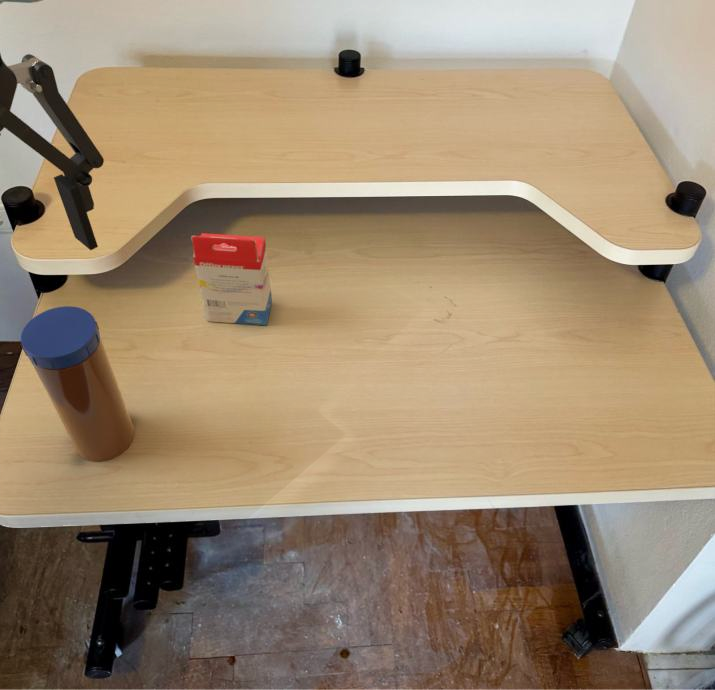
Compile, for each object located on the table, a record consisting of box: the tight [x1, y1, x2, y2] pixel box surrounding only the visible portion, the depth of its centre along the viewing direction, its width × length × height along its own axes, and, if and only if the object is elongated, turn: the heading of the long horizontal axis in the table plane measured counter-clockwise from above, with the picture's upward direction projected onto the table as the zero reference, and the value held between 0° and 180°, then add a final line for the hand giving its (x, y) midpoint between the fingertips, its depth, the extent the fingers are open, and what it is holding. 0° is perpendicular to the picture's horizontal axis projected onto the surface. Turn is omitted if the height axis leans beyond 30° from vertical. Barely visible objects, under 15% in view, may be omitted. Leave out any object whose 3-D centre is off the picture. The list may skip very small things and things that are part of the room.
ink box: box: [190, 232, 273, 326], centre depth 88 cm, size 8×5×15 cm, turn 86°
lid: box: [20, 305, 101, 369], centre depth 66 cm, size 7×7×2 cm
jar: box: [31, 337, 135, 462], centre depth 72 cm, size 7×7×17 cm
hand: (31, 269), depth 59 cm, fingers open, 10 cm apart
